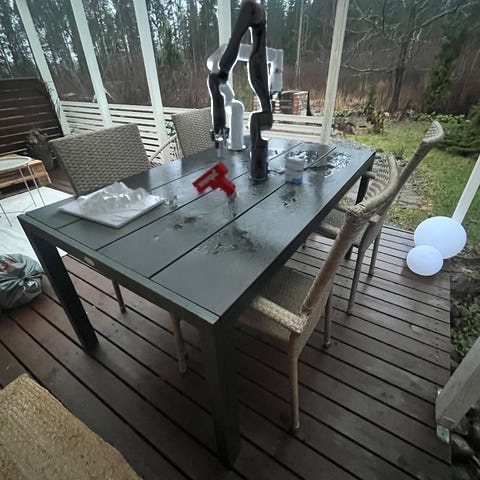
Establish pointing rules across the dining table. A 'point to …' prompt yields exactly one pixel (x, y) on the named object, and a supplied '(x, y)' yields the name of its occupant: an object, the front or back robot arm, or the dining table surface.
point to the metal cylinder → (221, 148)
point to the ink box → (294, 170)
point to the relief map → (113, 205)
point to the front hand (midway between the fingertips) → (220, 147)
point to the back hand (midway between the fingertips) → (274, 99)
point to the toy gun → (215, 180)
